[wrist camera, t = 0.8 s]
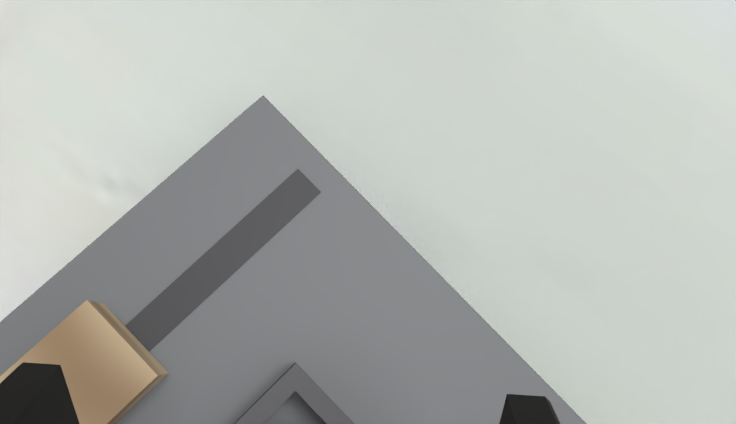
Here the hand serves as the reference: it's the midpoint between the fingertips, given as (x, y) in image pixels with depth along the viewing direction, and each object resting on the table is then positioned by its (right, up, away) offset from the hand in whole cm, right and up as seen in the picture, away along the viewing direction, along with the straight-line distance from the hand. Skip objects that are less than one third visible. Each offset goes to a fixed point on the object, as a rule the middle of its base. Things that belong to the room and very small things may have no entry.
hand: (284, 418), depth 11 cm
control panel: (0, -4, +13) cm, 14 cm away
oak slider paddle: (-8, -2, +11) cm, 14 cm away
